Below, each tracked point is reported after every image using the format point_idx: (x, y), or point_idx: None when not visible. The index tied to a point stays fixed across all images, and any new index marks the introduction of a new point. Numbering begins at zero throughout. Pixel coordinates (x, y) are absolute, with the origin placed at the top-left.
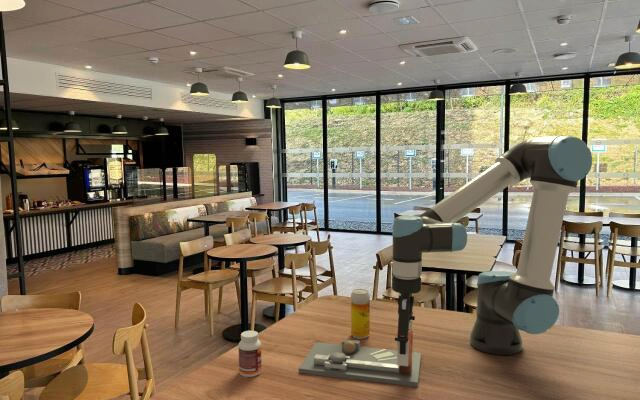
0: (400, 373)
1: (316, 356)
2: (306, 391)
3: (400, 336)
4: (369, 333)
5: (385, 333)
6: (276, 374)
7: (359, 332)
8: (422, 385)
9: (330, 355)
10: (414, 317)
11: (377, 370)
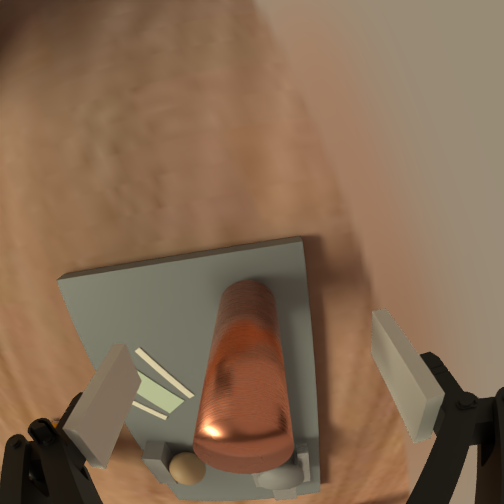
0: None
1: (286, 497)
2: (393, 449)
3: (487, 440)
4: (52, 423)
5: (15, 385)
6: (336, 497)
7: None
8: (280, 221)
9: (285, 488)
10: (36, 430)
11: None
